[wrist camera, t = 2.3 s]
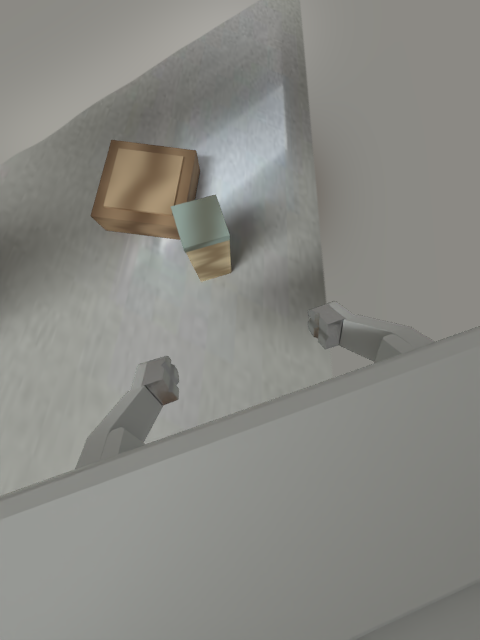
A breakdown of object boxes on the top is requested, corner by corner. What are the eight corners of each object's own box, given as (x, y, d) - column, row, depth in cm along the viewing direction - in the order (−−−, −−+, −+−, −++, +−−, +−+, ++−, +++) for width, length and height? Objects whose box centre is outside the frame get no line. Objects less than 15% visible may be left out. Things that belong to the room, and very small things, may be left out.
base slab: (106, 230, 28) (89, 214, 24) (123, 160, 29) (110, 137, 26) (187, 240, 28) (181, 226, 24) (200, 170, 30) (195, 148, 26)
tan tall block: (200, 282, 27) (183, 248, 18) (191, 253, 27) (170, 206, 18) (231, 272, 27) (229, 235, 18) (222, 244, 28) (215, 194, 19)
